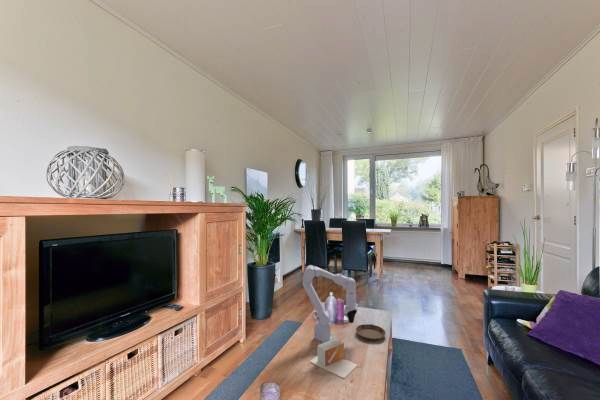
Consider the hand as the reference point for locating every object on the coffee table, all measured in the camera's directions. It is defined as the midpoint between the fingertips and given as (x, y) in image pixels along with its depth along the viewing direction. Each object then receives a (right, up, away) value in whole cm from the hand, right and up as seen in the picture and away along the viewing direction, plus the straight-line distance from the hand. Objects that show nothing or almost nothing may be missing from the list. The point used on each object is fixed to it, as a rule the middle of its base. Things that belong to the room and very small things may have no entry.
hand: (351, 322), depth 157 cm
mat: (-13, -10, -23) cm, 29 cm away
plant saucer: (+13, -11, +6) cm, 18 cm away
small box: (-9, -6, -17) cm, 20 cm away
